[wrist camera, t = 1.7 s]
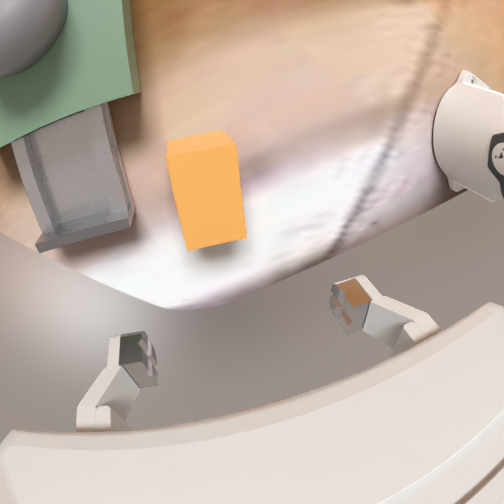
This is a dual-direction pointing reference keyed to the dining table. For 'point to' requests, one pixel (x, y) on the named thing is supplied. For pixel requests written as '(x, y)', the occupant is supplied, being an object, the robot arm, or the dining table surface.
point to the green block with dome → (62, 60)
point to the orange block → (207, 189)
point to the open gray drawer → (75, 178)
